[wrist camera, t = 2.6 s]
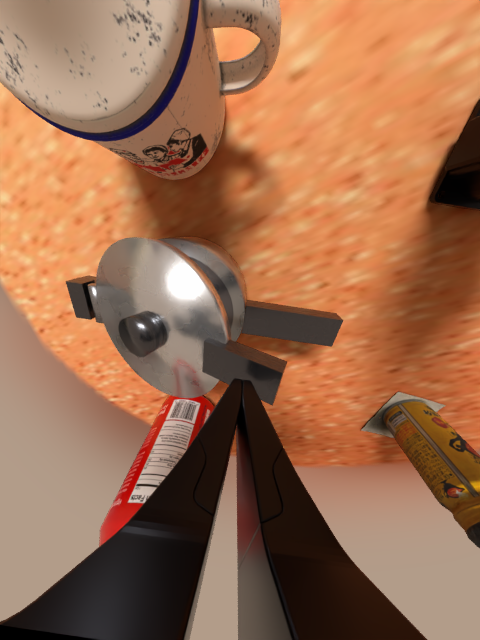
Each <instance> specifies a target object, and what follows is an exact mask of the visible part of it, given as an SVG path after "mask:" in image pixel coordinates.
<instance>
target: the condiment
mask: <svg viewBox="0 0 480 640" xmlns="http://www.w3.org/2000/svg"><path fill="white" fill-rule="evenodd" d="M444 406H445V405H442V404H439V403H436V402H433V401H430V400H426V399H423V398H419V397H416V396H412V395H408V394H404V393H401V392H398V393H397V394H396V395H394V396H393V397H392V398H391V399H390V400H389V401H388V402H387V403H386V404H385V405H384V406H383V407H382V408H381V409H380V410H379V411H378V412H377V414H376V415H375V417H373V418H372V419H371V420H370V421H369V422H368V423H367V424H366V426H365V427H364V428H363V429H362V431H368V432H372V433H377V434H380V435H385V436H388V437H391V438H395V440H396V441H397V442H398V444H399V445H400V447H401V448H402V450H403V451H404V453H405V454H406V455H407V457H408V458H409V460H410V461H411V463H412V464H413V466H414V467H415V468H416V470H417V471H418V473H419V474H420V476H421V477H422V479H423V480H424V482H425V483H426V484H427V486H428V487H429V489H430V490H431V492H432V493H433V495H434V496H435V498H436V499H437V500H438V502H439V503H440V504H441V505H442V506H444V507H445V508H446V509H448V510H449V511H450V512H452V513H453V516H454V519H455V520H456V521H457V522H458V523H459V525H460V526H461V527H462V528H463V529H464V530H465V532H466V534H467V536H468V538H469V539H470V540H471V541H472V542H473V543H475V545H476V546H477V547H479V548H480V455H479V454H478V453H477V452H476V451H475V450H474V449H473V448H472V447H471V446H470V445H469V444H468V443H467V442H466V441H465V440H463V439H462V438H461V436H460V435H459V434H457V433H456V432H455V430H454V429H453V428H452V427H451V426H449V425H448V423H447V422H446V421H445V420H443V419H442V418H441V417H440V415H438V414H437V413H436V412H438V410H440V409H441V408H442V407H444Z"/></svg>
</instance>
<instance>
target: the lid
mask: <svg viewBox="0 0 480 640" xmlns="http://www.w3.org/2000/svg"><path fill="white" fill-rule="evenodd" d="M88 290H89V294H90V298H91V302H92V306H93V310H94V314H95V319H96V322H98V323H104V325H105V327H106V330H107V332H108V334H109V336H110V338H111V340H112V342H113V343H114V345H115V347H116V348H117V350H118V351H119V353H120V354H121V356H122V357H123V358H124V360H125V361H126V362H127V363H128V364H129V366H130V367H131V368H132V369H133V370H134V371H135V372H136V373H137V374H138V375H139V376H140V377H141V378H143V379H144V380H145V381H146V382H148V383H149V384H150V385H152V386H153V387H155V388H156V389H158V390H160V391H162V392H164V393H166V394H169V395H172V396H175V397H180V398H195V397H199V396H202V395H204V394H206V393H208V392H209V391H210V390H212V389H213V387H214V386H215V385H216V384H217V383H218V382H219V381H223V382H225V383H227V384H229V385H230V384H231V382H232V381H233V379H234V378H237V379H242V380H250V381H251V382H252V384H253V386H254V388H255V390H256V392H257V394H258V396H259V398H260V400H262V401H264V402H266V403H269V404H271V405H273V403H274V400H275V397H276V395H277V392H278V389H279V386H280V382H281V379H282V376H283V373H284V370H285V367H286V364H287V361H284V360H282V359H279V358H276V357H274V356H271V355H269V354H266V353H264V352H261V351H258V350H256V349H253V348H251V347H248V346H245V345H243V344H240V343H238V342H235V341H232V340H231V330H230V325H229V320H228V317H227V314H226V311H225V308H224V305H223V303H222V301H221V299H220V296H219V294H218V293H217V291H216V289H215V287H214V286H213V284H212V282H211V281H210V280H209V278H208V277H207V275H206V274H205V273H204V272H203V270H202V269H201V268H200V267H199V266H198V265H197V264H196V263H195V262H194V261H193V260H192V259H191V258H190V257H189V256H187V255H186V254H185V253H184V252H182V251H181V250H179V249H178V248H176V247H174V246H172V245H170V244H168V243H166V242H164V241H161V240H157V239H152V238H137V237H134V238H125V239H122V240H119V241H117V242H116V243H114V244H112V245H111V246H110V247H109V248H108V249H107V250H106V252H105V253H104V255H103V256H102V258H101V261H100V263H99V266H98V270H97V277H96V283H91V284H88Z"/></svg>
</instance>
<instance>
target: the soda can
mask: <svg viewBox="0 0 480 640" xmlns="http://www.w3.org/2000/svg"><path fill="white" fill-rule="evenodd" d="M213 410H214V406H213V404H212V403H211V402H210V401H209V400H208V399H206V398H205V397H203V396H199V397H195V398H180V397H175V396H172V395H171V396H169V397H168V398H167V399H166V400H165V402H164V403H163V405H162V407H161V409H160V411H159V413H158V415H157V417H156V419H155V421H154V423H153V425H152V427H151V429H150V431H149V433H148V435H147V437H146V439H145V441H144V443H143V444H142V446H141V448H140V450H139V452H138V454H137V456H136V459H135V460H134V462H133V464H132V466H131V468H130V470H129V472H128V474H127V476H126V478H125V480H124V482H123V484H122V486H121V488H120V490H119V492H118V494H117V496H116V498H115V500H114V502H113V504H112V506H111V507H110V509H109V511H108V513H107V516H106V518H105V519H104V522H103V524H102V526H101V528H100V540H99V541H100V542H99V547H100V546H101V545H102V544H103V543H105V542H106V541H107V540H108V539H109V538H111V537H112V536H113V535H114V534H115V533H116V532H118V531H119V530H120V529H121V528H122V527H123V526H124V525H125V524H126V523H127V522H128V521H129V520H130V519H131V518H132V516H133V515H134V514H135V513H136V512H137V511H138V510H139V509H140V507H141V506H142V505H143V504H144V503H145V501H146V500H147V499H148V498H149V497H150V495H151V494H152V493H153V492H154V491H155V489H156V488H157V487H158V486H159V484H160V483H161V482H162V481H163V480H164V478H165V477H166V476H167V475H168V474H169V472H170V471H171V470H172V469H173V467H174V466H175V465H176V464H177V462H178V461H179V460H180V458H181V457H182V456H183V454H184V453H185V452H186V450H187V449H188V447H189V446H190V444H191V443H192V441H193V440H194V438H195V437H196V436H197V434H198V432H199V431H200V429H201V428H202V426H203V425H204V423H205V422H206V420H207V419H208V417H209V416H210V414H211V413H212V411H213Z"/></svg>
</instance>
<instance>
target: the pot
mask: <svg viewBox="0 0 480 640" xmlns="http://www.w3.org/2000/svg"><path fill="white" fill-rule="evenodd" d="M157 240H161V241H164V242H166V243H168V244H170V245H172V246H174V247H176V248H178V249H179V250H181V251H182V252H184V253H185V254H186V255H187V256H189V257H190V258H191V259H192V260H193V261H194V262H195V263H196V264H197V265H198V266H199V267H200V268H201V269H202V270H203V272H204V273H205V274H206V275H207V277H208V278H209V280H210V281H211V282H212V284H213V286H214V287H215V289H216V291H217V293H218V294H219V296H220V299H221V301H222V303H223V305H224V308H225V311H226V314H227V317H228V320H229V325H230V330H231V340H232V341H235V342H236V340H237V339H238V337H239V335H240V333H241V330H242V333H245V334H251V335H258V336H265V337H271V338H278V339H285V340H292V341H298V342H305V343H312V344H318V345H325V346H332V345H333V342H334V340H335V338H336V336H337V333H338V331H339V329H340V327H341V324H342V322H343V320H342V319H341V318H340V317H339V316H338V315H337V314H336V313H330V312H324V311H317V310H311V309H304V308H297V307H291V306H284V305H278V304H271V303H264V302H258V301H251V300H247V302H246V285H245V280H244V277H243V274H242V272H241V270H240V268H239V266H238V264H237V263H236V261H235V260H234V259H233V258H232V256H231V255H230V254H229V253H228V252H227V251H225V250H224V249H223V248H221V247H220V246H219V245H217V244H215V243H213V242H211V241H209V240H206V239H203V238H199V237H190V236H187V237H175V238H165V239H157ZM91 283H96V277H93V276H85V277H82V278H76V279H73V280H69V281H66V284H67V287H68V291H69V294H70V298H71V301H72V304H73V308H74V311H75V315H76V317H77V318H84V319H93V318H95V314H94V310H93V306H92V302H91V298H90V294H89V290H88V284H91ZM245 303H246V308H245Z"/></svg>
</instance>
